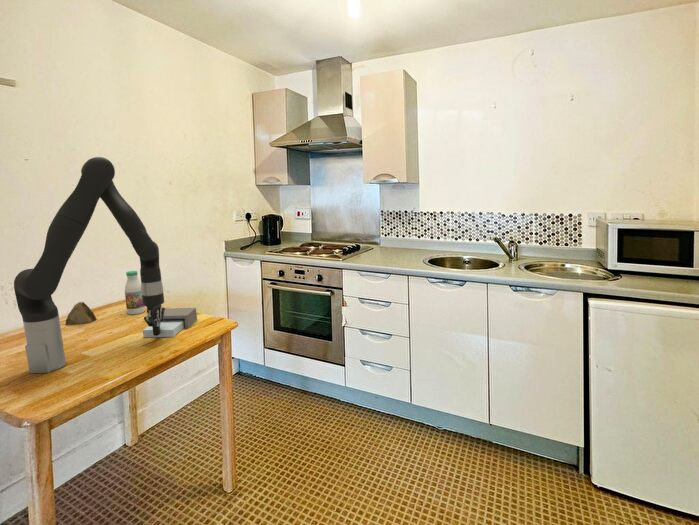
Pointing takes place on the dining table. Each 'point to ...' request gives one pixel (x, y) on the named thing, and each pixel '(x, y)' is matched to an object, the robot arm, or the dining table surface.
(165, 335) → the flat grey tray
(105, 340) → the dining table surface
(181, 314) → the low shelf
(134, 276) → the milk bottle
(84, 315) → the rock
